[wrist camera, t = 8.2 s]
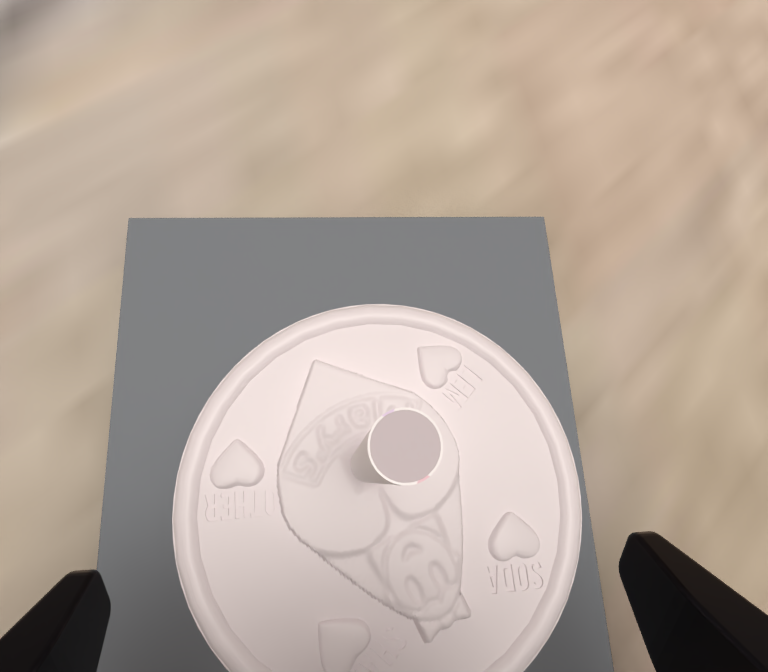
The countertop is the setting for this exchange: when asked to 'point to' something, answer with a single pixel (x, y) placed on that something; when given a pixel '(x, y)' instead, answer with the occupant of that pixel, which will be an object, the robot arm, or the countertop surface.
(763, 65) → the countertop surface
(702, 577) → the robot arm
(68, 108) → the countertop surface
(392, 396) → the smoothie
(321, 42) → the countertop surface
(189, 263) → the slate mat
